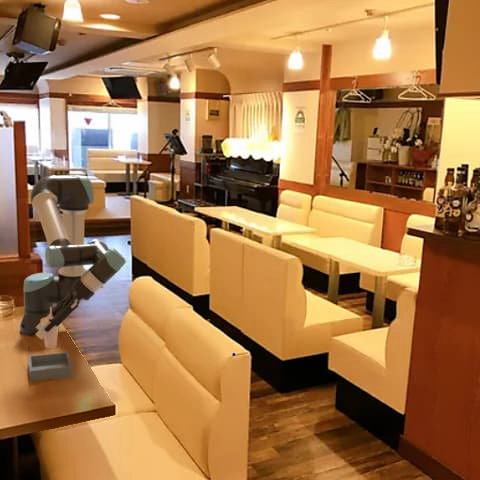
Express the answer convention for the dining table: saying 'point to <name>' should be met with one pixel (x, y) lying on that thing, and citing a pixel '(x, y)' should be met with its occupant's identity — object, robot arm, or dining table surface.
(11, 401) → the dining table surface
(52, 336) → the smoothie
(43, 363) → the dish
